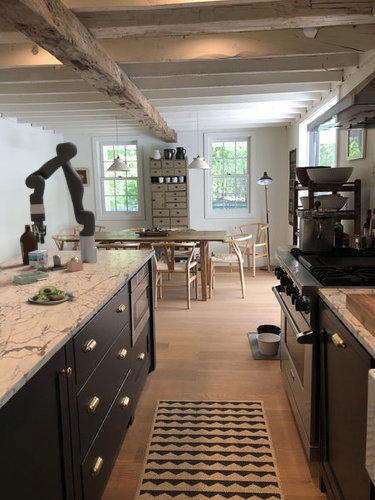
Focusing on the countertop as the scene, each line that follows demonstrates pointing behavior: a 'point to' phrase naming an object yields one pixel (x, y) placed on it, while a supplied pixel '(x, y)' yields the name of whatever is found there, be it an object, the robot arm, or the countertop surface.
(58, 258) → the grey cell
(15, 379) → the countertop surface
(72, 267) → the tan square box
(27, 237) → the olive oil
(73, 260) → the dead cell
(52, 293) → the salad plate
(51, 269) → the bulb tester base
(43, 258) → the light bulb box
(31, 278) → the green trough
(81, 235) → the robot arm
